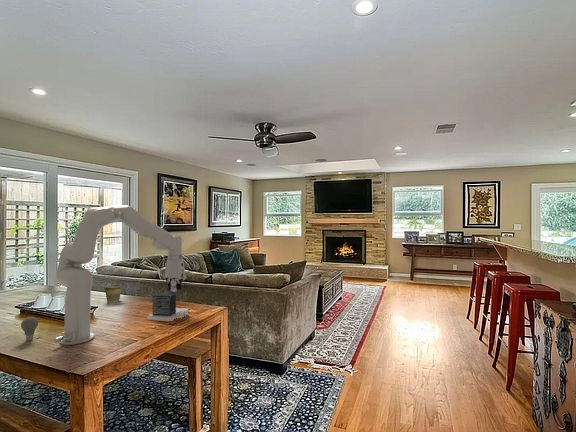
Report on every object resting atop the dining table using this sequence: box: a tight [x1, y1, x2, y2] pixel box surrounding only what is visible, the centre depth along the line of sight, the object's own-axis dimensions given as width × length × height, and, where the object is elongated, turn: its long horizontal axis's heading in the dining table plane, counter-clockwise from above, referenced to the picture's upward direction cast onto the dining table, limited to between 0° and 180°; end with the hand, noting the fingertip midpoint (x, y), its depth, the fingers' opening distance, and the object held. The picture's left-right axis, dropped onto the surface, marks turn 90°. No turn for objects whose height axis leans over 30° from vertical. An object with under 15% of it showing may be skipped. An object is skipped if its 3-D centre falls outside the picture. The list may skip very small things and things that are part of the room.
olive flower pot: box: [104, 283, 123, 304], centre depth 211 cm, size 13×10×10 cm
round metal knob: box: [170, 278, 178, 293], centre depth 184 cm, size 4×4×6 cm
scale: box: [146, 307, 190, 322], centre depth 178 cm, size 18×17×3 cm
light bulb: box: [20, 316, 39, 341], centre depth 142 cm, size 6×6×10 cm
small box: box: [152, 292, 177, 316], centre depth 175 cm, size 11×6×10 cm, turn 81°
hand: (174, 289), depth 184 cm, fingers closed on round metal knob, 4 cm apart
